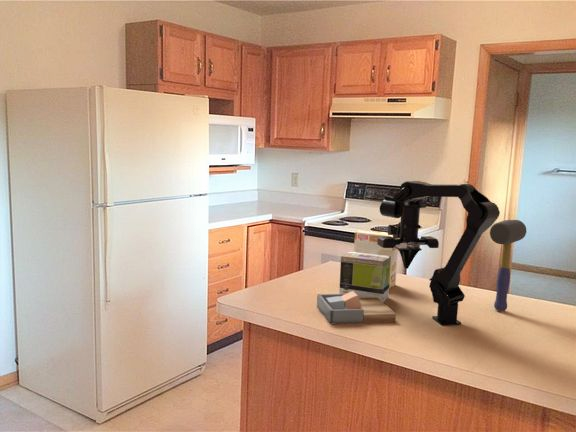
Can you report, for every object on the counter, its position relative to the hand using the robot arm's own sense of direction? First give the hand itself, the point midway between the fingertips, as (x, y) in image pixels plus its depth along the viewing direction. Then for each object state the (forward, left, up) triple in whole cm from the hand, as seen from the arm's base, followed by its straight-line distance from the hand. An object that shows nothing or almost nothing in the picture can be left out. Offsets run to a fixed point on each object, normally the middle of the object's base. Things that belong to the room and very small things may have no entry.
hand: (406, 268), depth 172 cm
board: (-5, +13, -13) cm, 19 cm away
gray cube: (-5, +24, -12) cm, 28 cm away
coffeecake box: (+28, 0, -13) cm, 31 cm away
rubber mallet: (-6, -31, -13) cm, 34 cm away
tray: (-5, +23, -13) cm, 27 cm away
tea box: (+11, +10, -13) cm, 20 cm away
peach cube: (-5, +19, -11) cm, 22 cm away
